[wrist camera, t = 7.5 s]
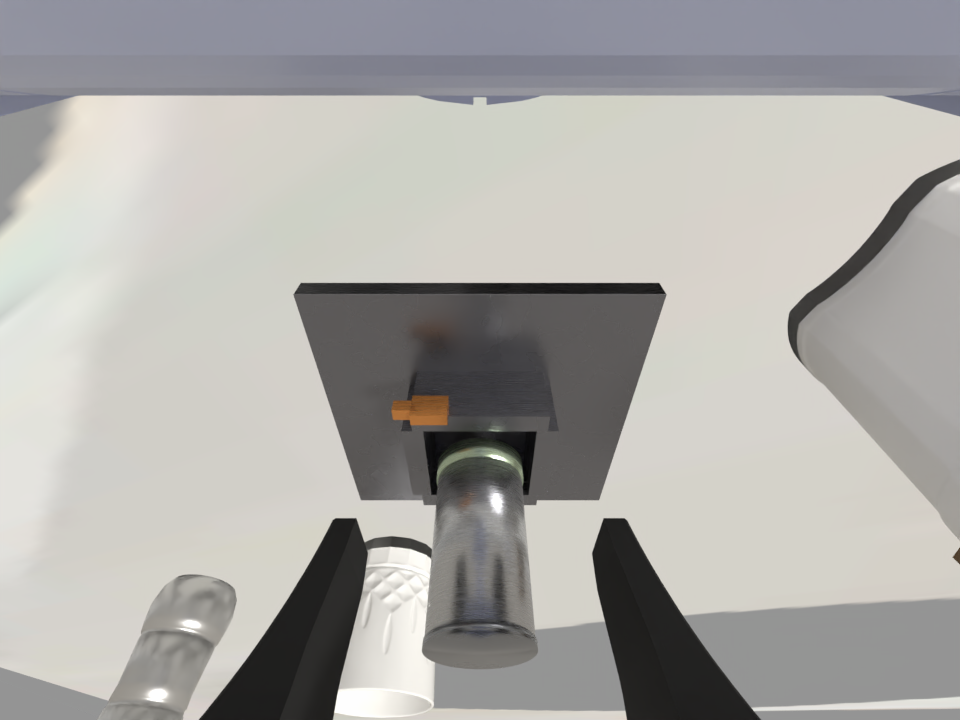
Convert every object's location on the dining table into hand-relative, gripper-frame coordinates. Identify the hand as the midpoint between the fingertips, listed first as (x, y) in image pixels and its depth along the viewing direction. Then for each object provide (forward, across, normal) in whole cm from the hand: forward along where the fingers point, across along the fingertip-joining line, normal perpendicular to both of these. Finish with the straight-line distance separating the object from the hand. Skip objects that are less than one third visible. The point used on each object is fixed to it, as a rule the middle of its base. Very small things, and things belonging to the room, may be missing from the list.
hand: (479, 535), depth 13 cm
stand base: (+10, 0, -5) cm, 12 cm away
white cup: (+11, -7, -23) cm, 27 cm away
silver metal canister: (+7, 0, -5) cm, 8 cm away
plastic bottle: (+11, -25, -28) cm, 39 cm away
